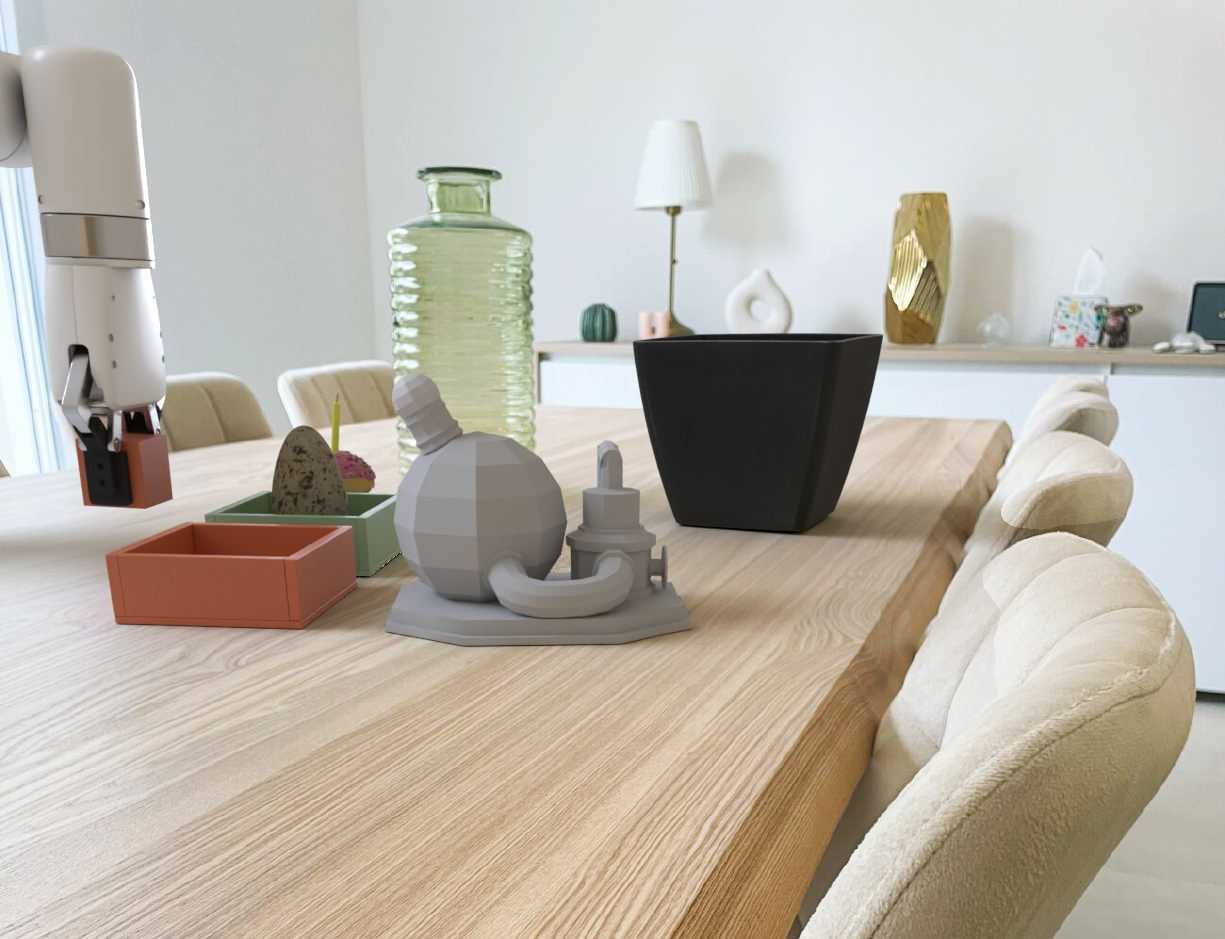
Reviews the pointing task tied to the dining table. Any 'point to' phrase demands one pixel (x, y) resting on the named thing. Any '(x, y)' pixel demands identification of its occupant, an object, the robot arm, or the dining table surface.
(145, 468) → the terracotta block
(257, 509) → the sage bin
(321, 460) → the decorative egg
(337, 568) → the terracotta bin
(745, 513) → the flower pot
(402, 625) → the grey distillation still model
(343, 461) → the donut with candle
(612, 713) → the dining table surface
